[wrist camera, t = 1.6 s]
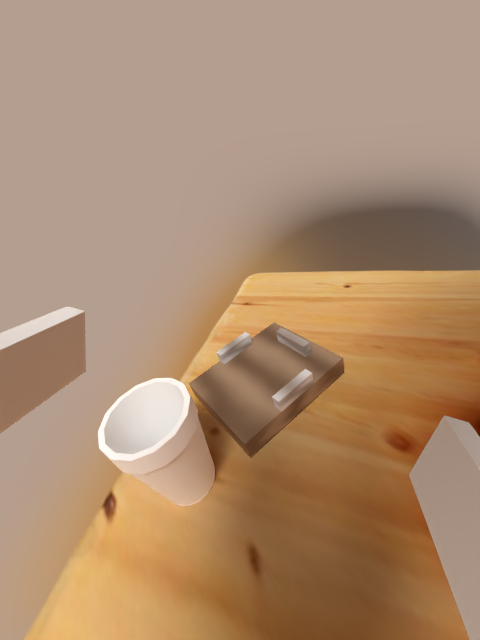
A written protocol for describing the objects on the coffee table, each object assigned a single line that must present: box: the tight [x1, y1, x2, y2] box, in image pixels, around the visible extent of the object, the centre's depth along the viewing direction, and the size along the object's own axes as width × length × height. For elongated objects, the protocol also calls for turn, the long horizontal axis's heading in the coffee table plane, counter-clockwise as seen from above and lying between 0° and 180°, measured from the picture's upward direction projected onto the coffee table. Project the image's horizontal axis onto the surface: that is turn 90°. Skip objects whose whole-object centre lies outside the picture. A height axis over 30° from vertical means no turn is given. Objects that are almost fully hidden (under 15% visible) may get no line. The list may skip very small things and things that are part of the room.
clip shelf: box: [189, 323, 344, 457], centre depth 44 cm, size 18×14×5 cm
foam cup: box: [98, 378, 215, 506], centre depth 33 cm, size 10×9×13 cm
